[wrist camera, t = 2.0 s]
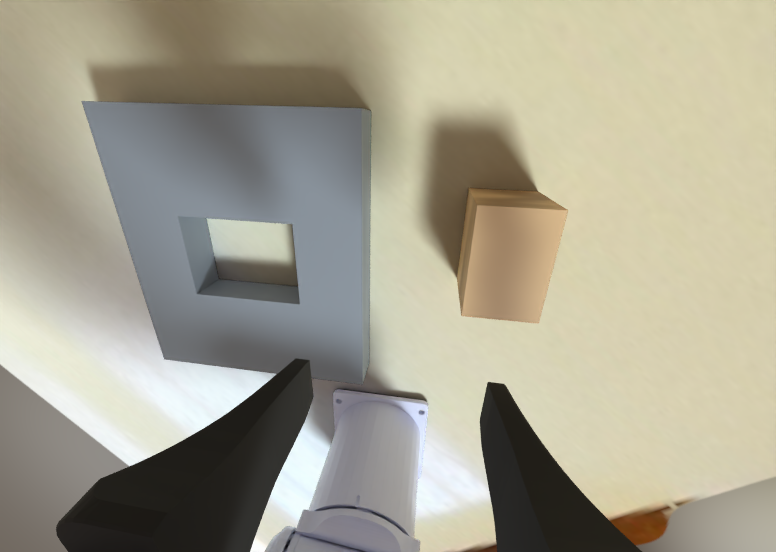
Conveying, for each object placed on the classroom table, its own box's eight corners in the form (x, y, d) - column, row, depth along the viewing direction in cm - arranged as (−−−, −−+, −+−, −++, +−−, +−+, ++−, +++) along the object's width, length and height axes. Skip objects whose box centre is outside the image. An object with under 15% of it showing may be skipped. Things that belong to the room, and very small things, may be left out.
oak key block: (537, 191, 19) (568, 210, 15) (517, 282, 22) (538, 323, 17) (468, 187, 20) (477, 205, 15) (456, 277, 22) (461, 316, 18)
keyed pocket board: (369, 362, 26) (362, 384, 24) (186, 340, 28) (164, 359, 26) (371, 110, 18) (361, 108, 16) (121, 104, 20) (81, 101, 18)
